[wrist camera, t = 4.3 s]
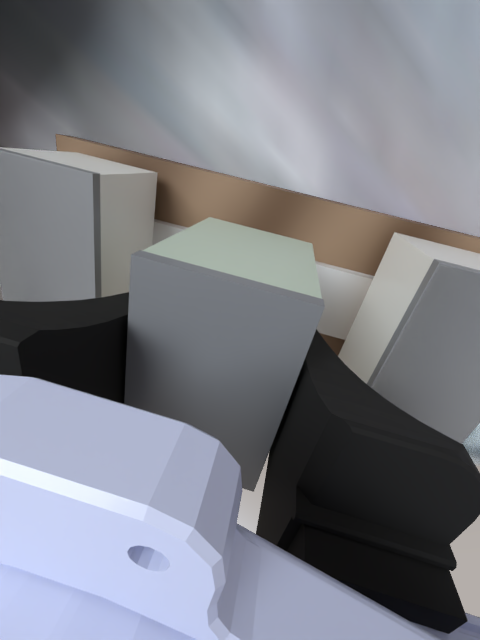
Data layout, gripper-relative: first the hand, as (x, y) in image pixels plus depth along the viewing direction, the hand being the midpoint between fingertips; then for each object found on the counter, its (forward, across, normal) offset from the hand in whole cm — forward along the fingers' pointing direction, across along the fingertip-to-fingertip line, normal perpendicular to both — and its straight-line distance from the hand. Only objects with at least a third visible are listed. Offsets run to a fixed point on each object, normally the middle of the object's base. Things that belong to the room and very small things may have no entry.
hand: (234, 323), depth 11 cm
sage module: (+2, 0, 0) cm, 2 cm away
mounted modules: (+5, 0, 0) cm, 5 cm away
